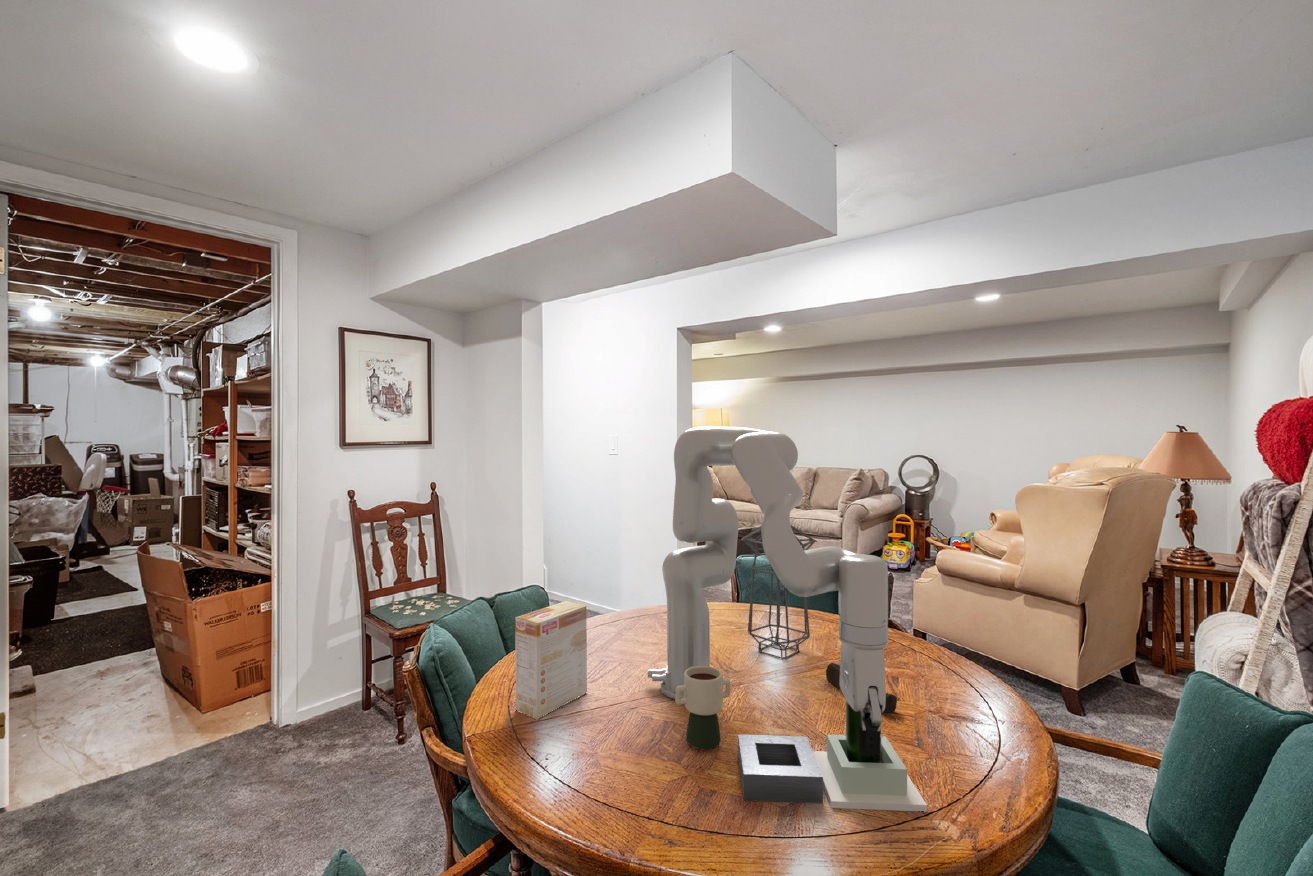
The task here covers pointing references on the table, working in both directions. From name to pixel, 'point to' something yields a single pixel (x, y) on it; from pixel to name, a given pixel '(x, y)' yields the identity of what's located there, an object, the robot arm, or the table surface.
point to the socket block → (779, 769)
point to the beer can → (852, 737)
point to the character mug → (703, 704)
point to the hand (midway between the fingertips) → (863, 742)
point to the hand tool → (834, 679)
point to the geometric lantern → (750, 630)
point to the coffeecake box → (550, 657)
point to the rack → (867, 780)
